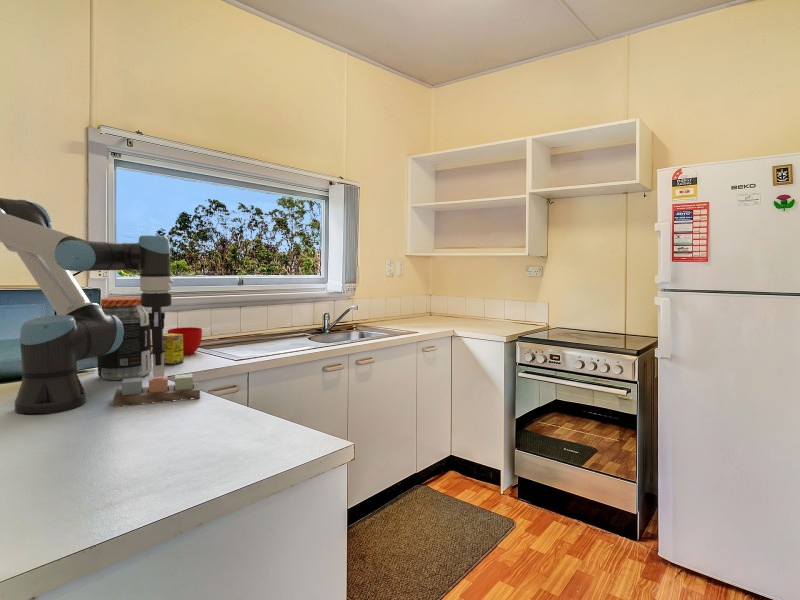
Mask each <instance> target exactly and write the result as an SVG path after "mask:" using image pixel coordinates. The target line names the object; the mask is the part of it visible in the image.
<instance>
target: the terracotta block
mask: <svg viewBox="0 0 800 600" xmlns="http://www.w3.org/2000/svg"><path fill="white" fill-rule="evenodd" d="M168 377H169V376H168V375H164V376H163V377H153V376H149V378H148V387H149V393H153V392H164V391H168V385H169V384H168V383H169V378H168Z"/></svg>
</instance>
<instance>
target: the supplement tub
mask: <svg viewBox="0 0 800 600" xmlns="http://www.w3.org/2000/svg"><path fill="white" fill-rule="evenodd" d="M100 300H101V301H100V307H101V308H102V310H103V311H104V313H105V314H111V315H114V316H116V317H118V318H119V319H120V321H121V323H122V325H123V328H124V335H123V341H122V343H121V345H120V346H119V348H118V349H116V350H115V351H114V352H111V353H108V354H106V355H103V356H97V357H96V358H97V376H98V377H99V378H100V379H102V380H108V381H118V380H119V381H122V380H123V379H130V378H142V377H144V376H146V375H148V374H150V373H151V371H152V370H153V359H152V354H150V352H152V330H151V329H150V320H149V313H150V312H149V310H148V309H147V307H143V306H142V305H141V297H111V298H109V297H108V298H101V299H100Z"/></svg>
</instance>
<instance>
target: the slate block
mask: <svg viewBox="0 0 800 600" xmlns="http://www.w3.org/2000/svg"><path fill="white" fill-rule="evenodd" d="M120 384H121V387H120V389H122V395H130V394H141V393H142V387H143V378H142V377H139V378H130V379H123V380H121V383H120Z"/></svg>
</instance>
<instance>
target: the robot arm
mask: <svg viewBox="0 0 800 600" xmlns="http://www.w3.org/2000/svg"><path fill="white" fill-rule="evenodd" d="M51 223H52V218H51V216H50V214H49V213H48V211H47V210H46V209H45V208H44V207H43V206H42V205H40V204H38V203H36V202H33V201H30V200H29V201H28V200H26V199H12V198H11V199H10V198H4V197H0V243H2V244H3V245H4V247H5V249H6V250H8V251H9V252H12V253H16V254H17V255H18V256H19V258H20V260H21V261H22V262H23V264H24V266H25V268H27V270H28V271H29V273H30V274H31V276H32V278H33V279H34V281H35V282H36V284H37V285H38V287H39V289H40V290H41V291H42V293H43V294H44V296H45V297H46V299H47V300H48V302H49V303H50V305H51V307H52V308H53V310H54V311H55V313H56V314H54V315H48V316H40V317H36V318H32V319H29V320H26V321H25V322H24V323H22V325H21V327H20V336H19V343H20V355H21V356H20V357H21V373H22V375H21V376H22V378H21V383H20V387H19V389H18V392H17V395H16V398H15V401H14V411H15V413H17V412H18V414H21V413H27V414H26V415H33V414H32V413H45V414H49V413H48V412H53V413H59V412H64V411H68V410H71V409H75V408H77V407H80V406H82V405H84V404H85V403H86V402H87V401H86V399H87V397H86V392H85V390H84V387H83V385H82V382H81V381H80V378H79V376H78V370H77V369H78V367H77V365H78V364H77V362H78V361H82V360H87V359H92V358H97V356H103V355H106V354H108V353H111V352H114V351H115V350H116V349H118V348H119V346H120V345H121V343H122V341H123V335H124V328H123V325H122V323H121V321H120V319H119V318H118V317H116V316H114V315H111V314H105V313H104V311H103V310H102V307H101V304H98V303H96V302H95V303H94V302H91V301H90V300H89V298H88V296H87V294H85V292H84V290H83V289H82V288H81V286H80V285H79V283H78V281H77V280H76V279H75V277H74V275H73V274H72V273H71V272H78V273H79V272H90V271H91V272H92V271H93V272H94V271H95V272H97V271H139V286H140V290H139V291H141V292H142V293H140V298H141V305H142V306H143V307H145V308H151V312H149V320H150V329H151V352H150V354H151V355H152V374H153V375H152V377H163V376H165V365H164V352H166V349H163V347H164V346H163V335H164V333H163V330H164V328H165V318H166V313H165V311H164V312H163V310H162V308H163V307H171V305H172V293H171V292H170V291H171V290H172V285H171V284H174V279H171V247H170V239H169V238H168V237H167V236H165V235H147V234H146V235H140V236H139V237H138V242H136V243H134V242H132V243H131V242H109V241H108V242H106V241H92V240H91V241H90V240H85V239H82V238H80V237H76V236H75V235H74V236H73V235H70V234H68V233H65V232H62V231H59V230H56V229H53V225H52V224H51ZM58 411H59V412H58ZM28 413H29V414H28ZM30 413H31V414H30Z"/></svg>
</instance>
